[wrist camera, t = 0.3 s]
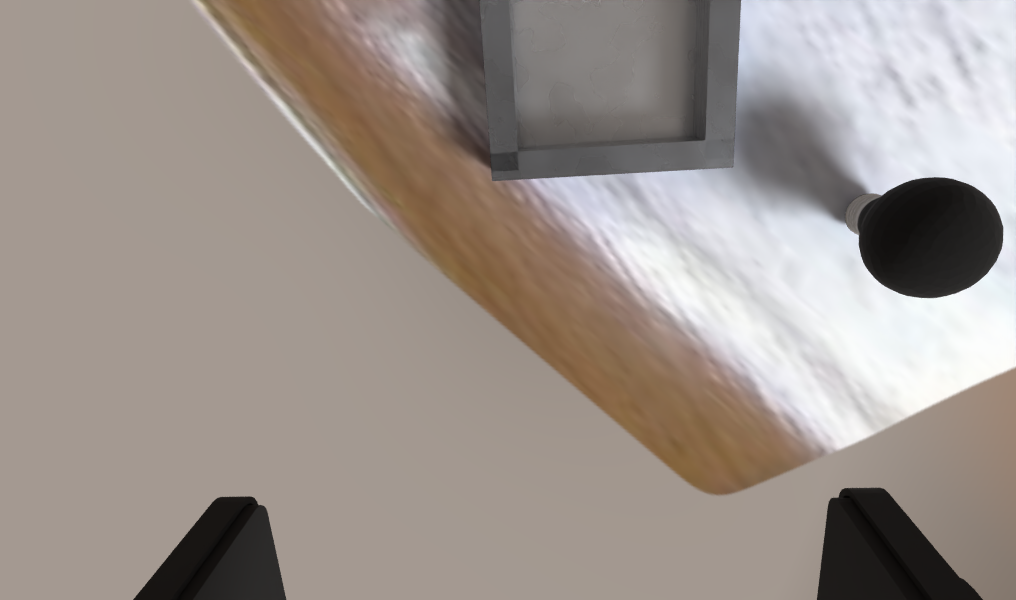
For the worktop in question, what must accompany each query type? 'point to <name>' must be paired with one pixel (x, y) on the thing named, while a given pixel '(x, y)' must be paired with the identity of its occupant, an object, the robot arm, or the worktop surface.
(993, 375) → the worktop surface
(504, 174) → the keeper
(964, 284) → the light bulb
